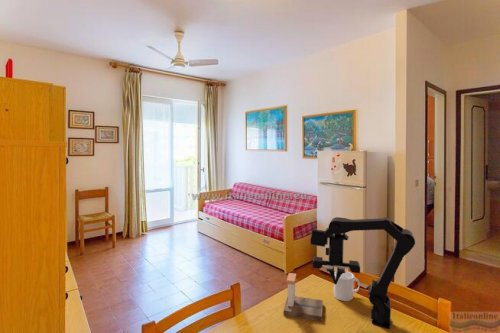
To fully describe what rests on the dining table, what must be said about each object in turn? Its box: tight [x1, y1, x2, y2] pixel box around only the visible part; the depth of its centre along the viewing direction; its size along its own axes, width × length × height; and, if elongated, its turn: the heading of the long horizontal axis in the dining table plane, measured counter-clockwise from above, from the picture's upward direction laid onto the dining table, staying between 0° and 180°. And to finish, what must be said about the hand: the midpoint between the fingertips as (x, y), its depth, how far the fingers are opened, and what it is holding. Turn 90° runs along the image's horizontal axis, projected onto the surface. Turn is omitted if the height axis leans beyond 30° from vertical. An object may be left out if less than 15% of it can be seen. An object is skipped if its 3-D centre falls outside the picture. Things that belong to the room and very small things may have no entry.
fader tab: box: [286, 272, 297, 307], centre depth 122 cm, size 3×7×12 cm, turn 164°
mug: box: [333, 270, 361, 302], centre depth 131 cm, size 9×12×11 cm
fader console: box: [283, 295, 324, 322], centre depth 121 cm, size 16×12×2 cm
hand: (335, 283), depth 119 cm, fingers closed
